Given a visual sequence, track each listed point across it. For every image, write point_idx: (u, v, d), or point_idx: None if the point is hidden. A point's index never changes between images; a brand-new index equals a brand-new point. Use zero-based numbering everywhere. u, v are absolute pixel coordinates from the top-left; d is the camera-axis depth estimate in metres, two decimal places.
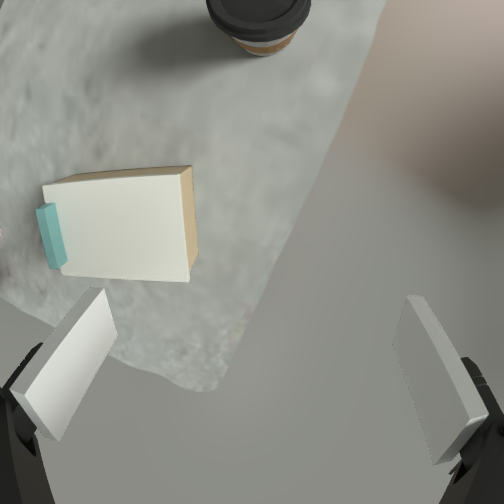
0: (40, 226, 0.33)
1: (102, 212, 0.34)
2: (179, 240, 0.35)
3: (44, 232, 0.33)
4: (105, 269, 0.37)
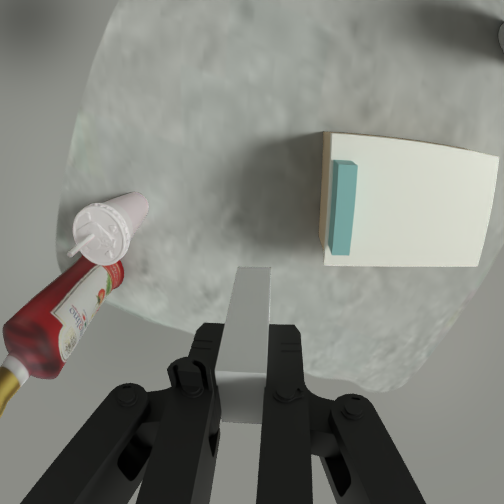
0: (340, 191, 0.25)
1: (420, 182, 0.26)
2: (485, 222, 0.27)
3: (345, 200, 0.25)
4: (398, 255, 0.30)
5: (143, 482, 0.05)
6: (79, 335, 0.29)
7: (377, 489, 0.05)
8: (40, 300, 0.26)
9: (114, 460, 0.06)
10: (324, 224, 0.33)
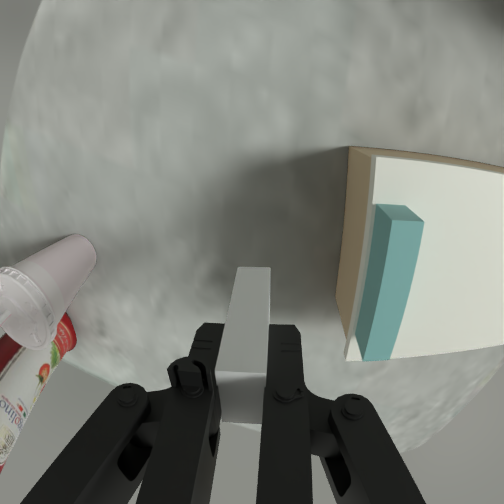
0: (390, 267, 0.13)
1: (498, 238, 0.15)
2: None
3: (396, 282, 0.14)
4: (452, 339, 0.18)
5: (143, 482, 0.05)
6: (17, 429, 0.17)
7: (377, 489, 0.05)
8: None
9: (114, 461, 0.06)
10: (348, 293, 0.21)
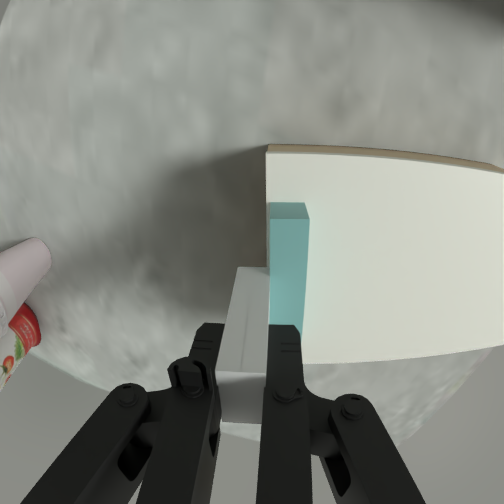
0: (276, 268, 0.14)
1: (432, 235, 0.15)
2: None
3: (287, 284, 0.14)
4: (388, 346, 0.18)
5: (143, 482, 0.05)
6: None
7: (377, 489, 0.05)
8: None
9: (114, 461, 0.06)
10: None
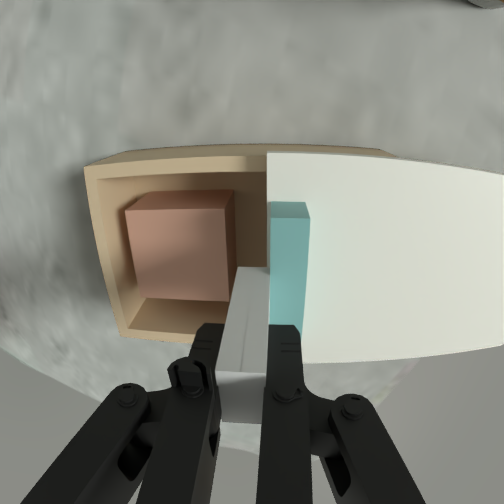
0: (276, 267, 0.14)
1: (432, 235, 0.15)
2: None
3: (287, 283, 0.14)
4: (387, 346, 0.18)
5: (143, 482, 0.05)
6: None
7: (377, 489, 0.05)
8: None
9: (114, 461, 0.06)
10: None
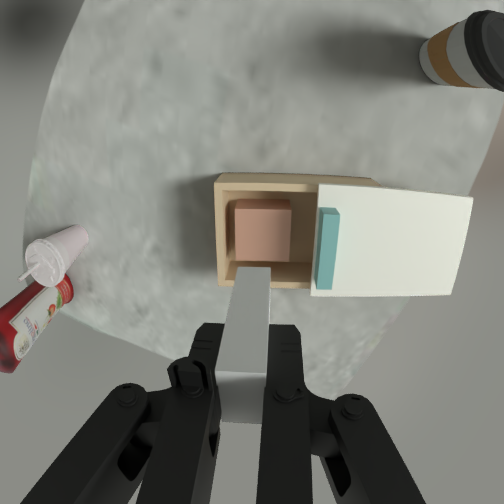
0: (324, 236, 0.30)
1: (397, 225, 0.31)
2: (458, 256, 0.32)
3: (328, 244, 0.30)
4: (376, 287, 0.34)
5: (143, 482, 0.05)
6: (31, 340, 0.33)
7: (377, 489, 0.05)
8: (2, 312, 0.31)
9: (114, 460, 0.06)
10: None
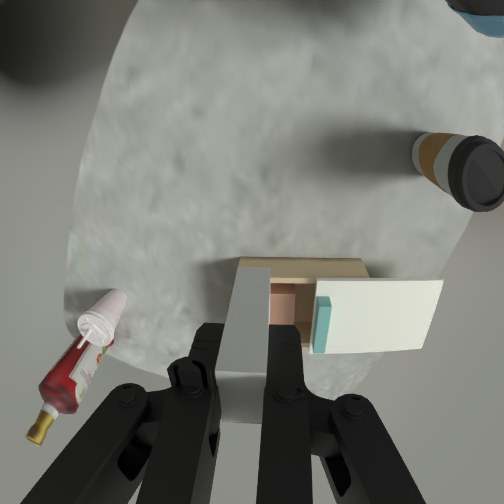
0: (319, 320, 0.40)
1: (377, 305, 0.41)
2: (428, 322, 0.42)
3: (322, 325, 0.40)
4: (360, 346, 0.44)
5: (143, 482, 0.05)
6: (87, 386, 0.44)
7: (377, 489, 0.05)
8: (61, 368, 0.41)
9: (114, 461, 0.06)
10: None
